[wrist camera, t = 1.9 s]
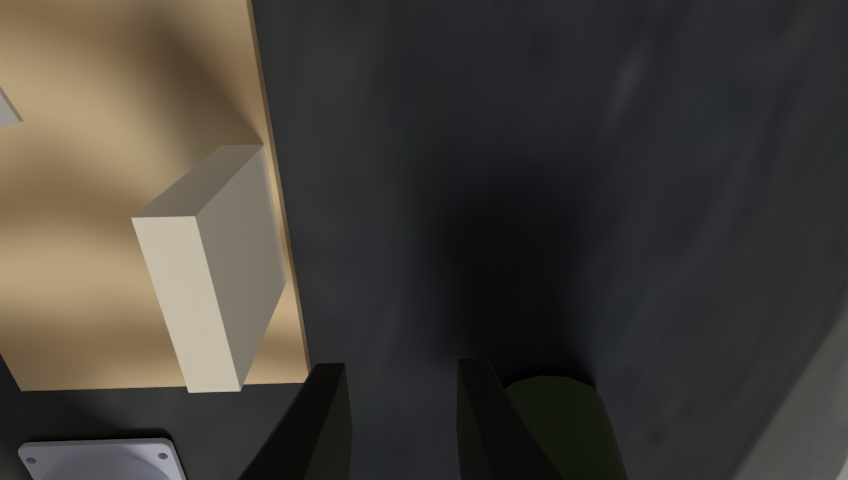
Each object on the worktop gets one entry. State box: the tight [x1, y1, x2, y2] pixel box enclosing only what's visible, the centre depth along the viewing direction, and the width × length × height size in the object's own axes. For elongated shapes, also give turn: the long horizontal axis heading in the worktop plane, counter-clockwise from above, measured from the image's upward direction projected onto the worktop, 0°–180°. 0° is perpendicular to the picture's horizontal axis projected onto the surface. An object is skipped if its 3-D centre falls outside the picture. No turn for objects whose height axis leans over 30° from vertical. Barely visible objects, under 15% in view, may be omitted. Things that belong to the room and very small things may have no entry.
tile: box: [131, 144, 288, 393], centre depth 16 cm, size 6×2×6 cm, turn 1°
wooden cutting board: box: [0, 0, 311, 391], centre depth 19 cm, size 18×14×1 cm
